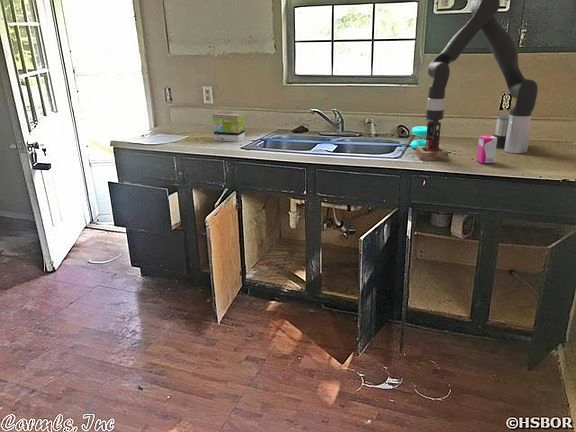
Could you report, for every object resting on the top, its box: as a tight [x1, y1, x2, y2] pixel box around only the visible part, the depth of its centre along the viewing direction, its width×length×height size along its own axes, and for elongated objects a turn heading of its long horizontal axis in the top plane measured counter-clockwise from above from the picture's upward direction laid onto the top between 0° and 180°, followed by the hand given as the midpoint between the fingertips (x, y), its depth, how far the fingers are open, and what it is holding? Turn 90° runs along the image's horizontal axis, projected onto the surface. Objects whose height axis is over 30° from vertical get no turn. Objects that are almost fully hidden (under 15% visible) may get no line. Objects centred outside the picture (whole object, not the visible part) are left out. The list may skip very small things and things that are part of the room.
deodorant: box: [425, 121, 442, 152], centre depth 218 cm, size 6×6×15 cm
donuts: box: [410, 126, 427, 150], centre depth 236 cm, size 10×10×10 cm
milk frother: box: [490, 115, 509, 150], centre depth 236 cm, size 14×16×15 cm
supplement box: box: [476, 135, 497, 165], centre depth 207 cm, size 6×6×12 cm
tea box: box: [212, 111, 246, 143], centre depth 265 cm, size 15×10×15 cm, turn 73°
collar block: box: [415, 145, 449, 161], centre depth 220 cm, size 12×12×4 cm
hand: (432, 145), depth 219 cm, fingers closed on deodorant, 6 cm apart
